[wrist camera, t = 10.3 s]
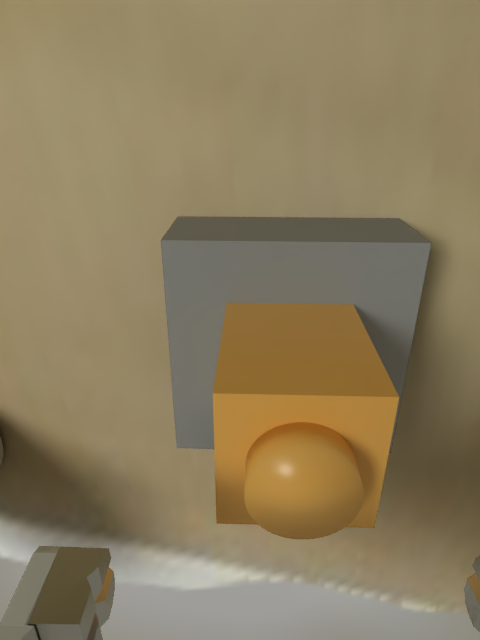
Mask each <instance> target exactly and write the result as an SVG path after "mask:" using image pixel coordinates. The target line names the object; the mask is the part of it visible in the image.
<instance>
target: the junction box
mask: <svg viewBox="0 0 480 640" xmlns="http://www.w3.org/2000/svg"><path fill="white" fill-rule="evenodd" d="M430 247H431V242H429V241H428V240H427V239H425V238H424V237H423V236H422V235H420V234H419V233H418V232H416V231H415V230H414V229H412V228H411V227H410V226H409V225H407V224H406V223H405V222H403V221H402V220H401V219H397V218H281V217H177V218H176V220H175V221H174V223H173V224H172V225H171V227H170V228H169V230H168V231H167V232H166V234H165V235H164V236H163V238H162V239H161V250H162V263H163V275H164V288H165V301H166V314H167V327H168V340H169V353H170V366H171V379H172V392H173V405H174V417H175V430H176V443H177V448H199V449H214V417H213V389H214V382H215V375H216V369H217V362H218V356H219V349H220V343H221V336H222V329H223V323H224V316H225V310H226V303H287V304H353V305H354V307H355V309H356V311H357V313H358V315H359V317H360V319H361V321H362V323H363V325H364V327H365V329H366V331H367V333H368V335H369V337H370V339H371V341H372V343H373V345H374V347H375V349H376V351H377V353H378V355H379V357H380V359H381V361H382V363H383V365H384V367H385V369H386V371H387V373H388V375H389V377H390V379H391V381H392V383H393V385H394V388H395V390H396V392H397V394H398V396H399V401H398V407H397V412H396V417H395V423H394V428H393V433H392V438H391V444H390V449H389V453H391V450H392V445H393V439H394V434H395V429H396V424H397V419H398V413H399V408H400V403H401V398H402V393H403V387H404V382H405V377H406V372H407V367H408V361H409V356H410V351H411V346H412V341H413V335H414V330H415V325H416V320H417V315H418V310H419V304H420V299H421V294H422V289H423V284H424V278H425V273H426V268H427V263H428V258H429V252H430Z"/></svg>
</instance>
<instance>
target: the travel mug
mask: <svg viewBox="0 0 480 640" xmlns="http://www.w3.org/2000/svg"><path fill="white" fill-rule="evenodd" d="M2 460H3V444H2V440H1V437H0V466H1V464H2Z"/></svg>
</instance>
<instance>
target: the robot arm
mask: <svg viewBox="0 0 480 640" xmlns="http://www.w3.org/2000/svg"><path fill="white" fill-rule="evenodd" d="M110 560H111V556H110V552H109V549H107V548H78V547H53V546H39V547H38V549H37V550H36V551H35V552H34V553H33V555H32V557H31V559H30V561H29V563H28V565H27V568H26V570H25V572H24V574H23V576H22V578H21V580H20V582H19V584H18V587H17V589H16V591H15V593H14V595H13V597H12V599H11V601H10V604H9V605H8V608H7V610H6V612H5V614H4V616H3V618H2V621H1V622H0V640H103V639H102V635H101V630H100V627H101V626H102V625H103V624H104V623H105V622H106V621H107V620H108V619H109V616H110V611H111V608H112V603H113V597H114V590H115V578H114V572H113V571H112V570H111V569H110V568H109V563H110ZM472 566H473V568H474V570H475V572H476V573H475V574H473V575H472V576H471V577H469V578H468V579H467V582H466V585H465V588H464V592H465V603H466V607H467V611H468V614H469V617H470V619H471V621H472V624H473V626H474V627H475V628H476V629H477V630H478V631H479V632H480V556H478V557H476V558H475V560H474V563H473V565H472Z"/></svg>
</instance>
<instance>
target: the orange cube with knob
mask: <svg viewBox="0 0 480 640" xmlns="http://www.w3.org/2000/svg"><path fill="white" fill-rule="evenodd" d="M398 401H399V396H398V394H397V392H396V390H395V388H394V385H393V383H392V381H391V379H390V377H389V375H388V373H387V371H386V369H385V367H384V365H383V363H382V361H381V359H380V357H379V355H378V353H377V351H376V349H375V347H374V345H373V343H372V341H371V339H370V337H369V335H368V333H367V331H366V329H365V327H364V325H363V323H362V321H361V319H360V317H359V315H358V313H357V311H356V309H355V307H354V305H353V304H287V303H226V310H225V316H224V323H223V329H222V336H221V343H220V349H219V356H218V362H217V369H216V375H215V382H214V389H213V417H214V451H215V484H216V518H217V523H222V524H257V525H260V526H261V527H262V528H264V529H265V530H267V531H269V532H271V533H273V534H276V535H278V536H282V537H286V538H292V539H314V538H320V537H324V536H327V535H330V534H333V533H335V532H337V531H339V530H341V529H343V528H344V527H360V528H375V523H376V517H377V512H378V507H379V501H380V496H381V491H382V486H383V480H384V475H385V470H386V465H387V459H388V454H389V449H390V444H391V438H392V433H393V428H394V423H395V417H396V412H397V407H398Z"/></svg>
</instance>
